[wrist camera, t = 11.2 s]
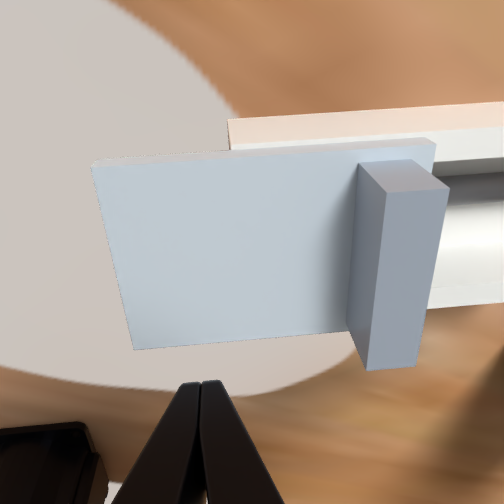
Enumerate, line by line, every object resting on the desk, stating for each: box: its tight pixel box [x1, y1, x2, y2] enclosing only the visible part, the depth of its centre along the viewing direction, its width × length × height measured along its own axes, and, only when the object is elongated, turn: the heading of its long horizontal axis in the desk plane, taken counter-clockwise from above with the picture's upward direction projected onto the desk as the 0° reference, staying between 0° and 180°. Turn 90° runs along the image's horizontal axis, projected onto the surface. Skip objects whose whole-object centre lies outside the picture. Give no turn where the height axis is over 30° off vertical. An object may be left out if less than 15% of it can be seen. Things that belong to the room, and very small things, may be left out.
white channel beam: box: [227, 101, 504, 309], centre depth 17 cm, size 13×7×4 cm, turn 93°
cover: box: [91, 137, 450, 371], centre depth 13 cm, size 10×7×3 cm
